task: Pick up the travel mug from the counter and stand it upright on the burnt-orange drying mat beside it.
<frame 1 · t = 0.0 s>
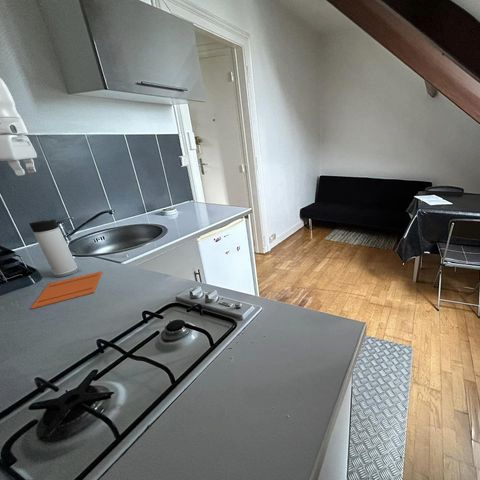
hand: (27, 173, 87), 34 cm above the worktop, tool pointing down, fingers open, 8 cm apart
drying mat: (70, 288, 83), on the worktop
travel mug: (67, 273, 93), on the worktop
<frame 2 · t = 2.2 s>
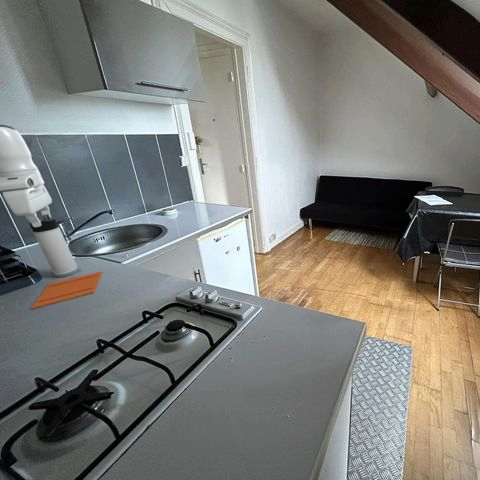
hand: (43, 222, 86), 19 cm above the worktop, tool pointing down, fingers open, 8 cm apart
nothing on the worktop moved.
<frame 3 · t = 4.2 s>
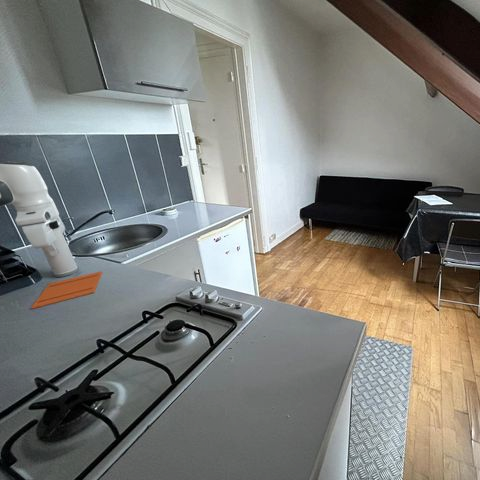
hand: (58, 251, 90), 9 cm above the worktop, tool pointing down, fingers closed on travel mug, 6 cm apart
travel mug: (67, 273, 93), on the worktop, touching arm, gripper
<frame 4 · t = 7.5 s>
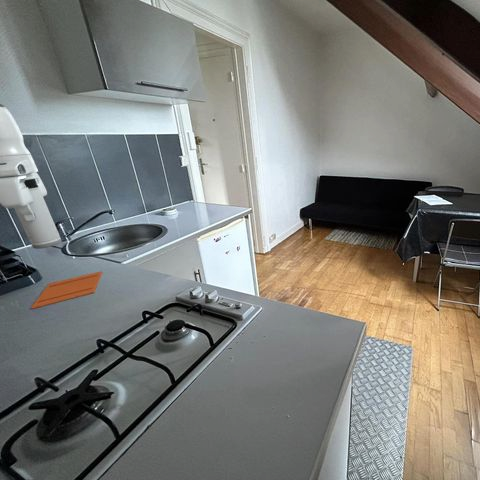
hand: (36, 217, 74), 24 cm above the worktop, tool pointing down, fingers closed on travel mug, 6 cm apart
travel mug: (47, 245, 77), point 15 cm above the worktop, touching arm, gripper
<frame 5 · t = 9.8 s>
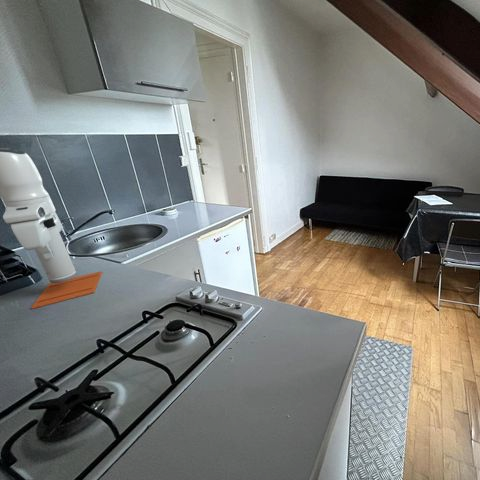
hand: (53, 253, 78), 12 cm above the worktop, tool pointing down, fingers closed on travel mug, 6 cm apart
travel mug: (64, 279, 81), point 4 cm above the worktop, touching arm, gripper
when the fingers open (9 cm above the worktop, at t = 11.2 s): travel mug stays where it is, resting on drying mat.
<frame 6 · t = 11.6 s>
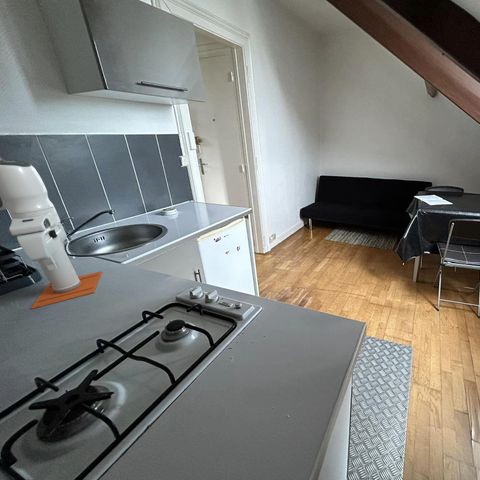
hand: (58, 262, 79), 9 cm above the worktop, tool pointing down, fingers open, 8 cm apart
travel mug: (68, 288, 82), resting on drying mat
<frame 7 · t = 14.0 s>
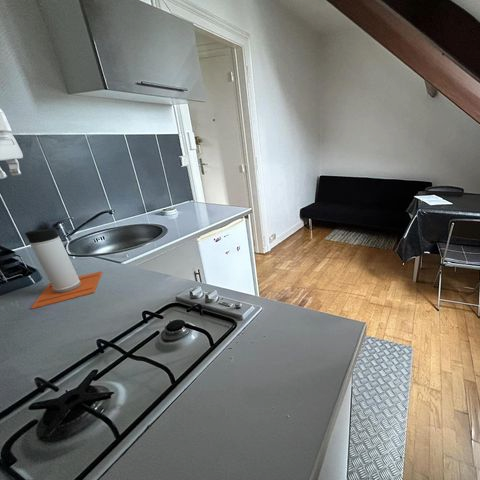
hand: (9, 176, 76), 34 cm above the worktop, tool pointing down, fingers open, 8 cm apart
nothing on the worktop moved.
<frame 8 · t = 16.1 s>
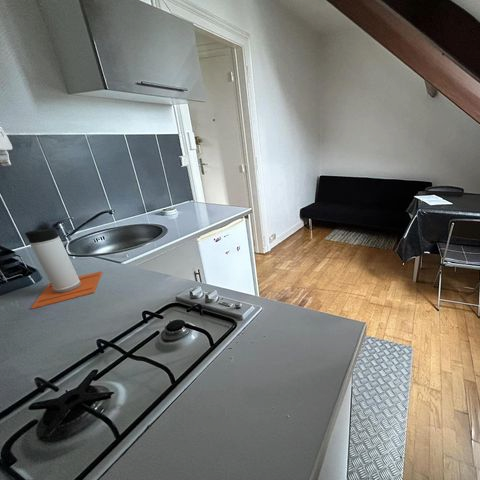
hand: (0, 166, 80), 37 cm above the worktop, tool pointing down, fingers open, 8 cm apart
nothing on the worktop moved.
at the end: travel mug inside the target area on the drying mat (0.5 cm from its centre), point 0.2 cm above the drying mat's base; travel mug tilted 0°; the gripper is holding nothing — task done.
